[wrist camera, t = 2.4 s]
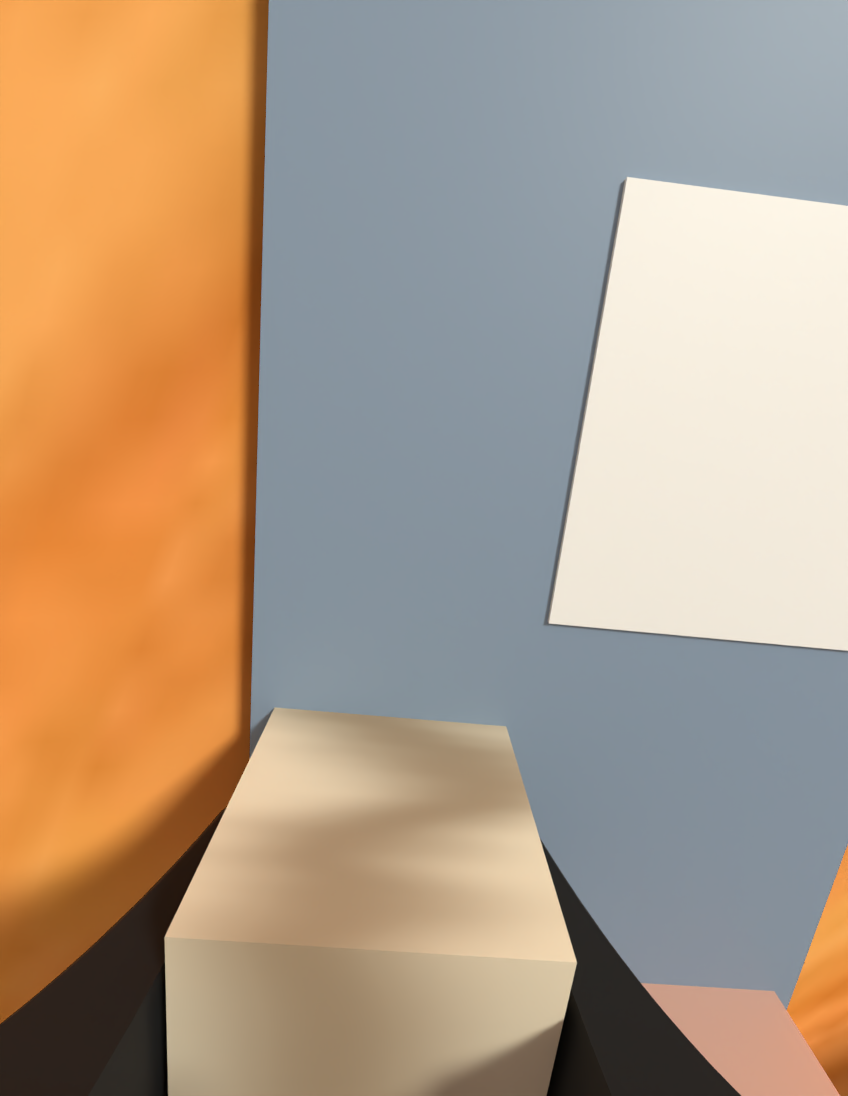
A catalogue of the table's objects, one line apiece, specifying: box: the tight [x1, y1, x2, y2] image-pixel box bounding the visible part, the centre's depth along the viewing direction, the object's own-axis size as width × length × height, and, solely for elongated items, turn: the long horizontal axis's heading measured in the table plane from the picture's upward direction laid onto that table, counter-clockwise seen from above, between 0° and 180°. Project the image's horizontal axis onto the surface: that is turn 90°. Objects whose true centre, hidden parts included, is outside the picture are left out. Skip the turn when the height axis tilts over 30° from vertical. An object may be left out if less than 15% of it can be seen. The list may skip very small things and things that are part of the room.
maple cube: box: [165, 707, 577, 1096], centre depth 9 cm, size 5×5×5 cm
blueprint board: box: [250, 0, 848, 1010], centre depth 11 cm, size 14×30×1 cm, turn 174°
